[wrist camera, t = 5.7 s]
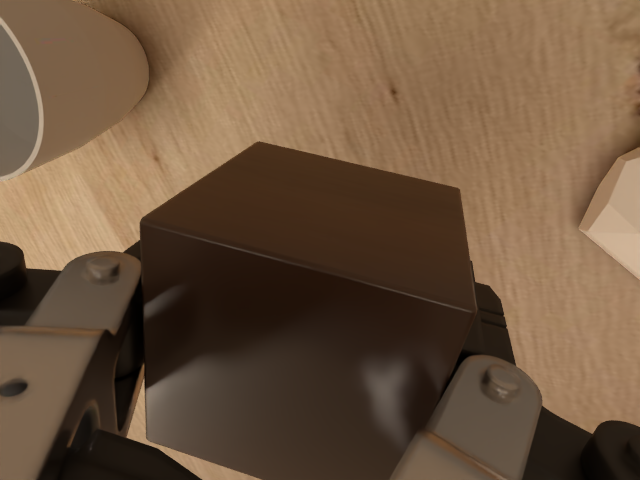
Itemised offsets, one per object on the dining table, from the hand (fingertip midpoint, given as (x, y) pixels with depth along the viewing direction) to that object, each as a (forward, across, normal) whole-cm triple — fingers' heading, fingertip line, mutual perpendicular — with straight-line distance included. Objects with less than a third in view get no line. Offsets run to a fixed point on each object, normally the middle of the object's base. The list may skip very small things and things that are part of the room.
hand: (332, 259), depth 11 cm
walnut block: (0, 0, 0) cm, 0 cm away
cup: (+15, +17, 0) cm, 23 cm away
